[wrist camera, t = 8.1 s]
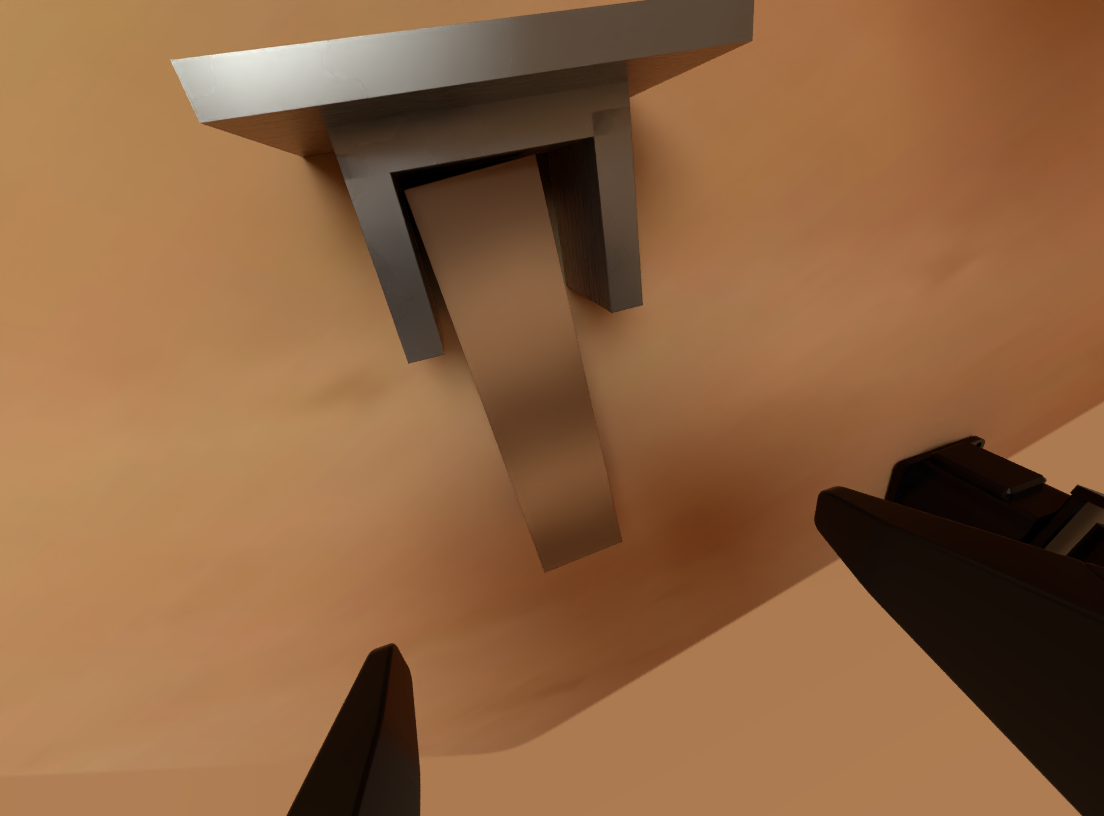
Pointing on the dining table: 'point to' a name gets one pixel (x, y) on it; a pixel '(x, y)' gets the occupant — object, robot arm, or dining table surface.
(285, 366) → the dining table surface
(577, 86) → the bracket
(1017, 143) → the dining table surface
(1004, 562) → the robot arm
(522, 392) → the rail
